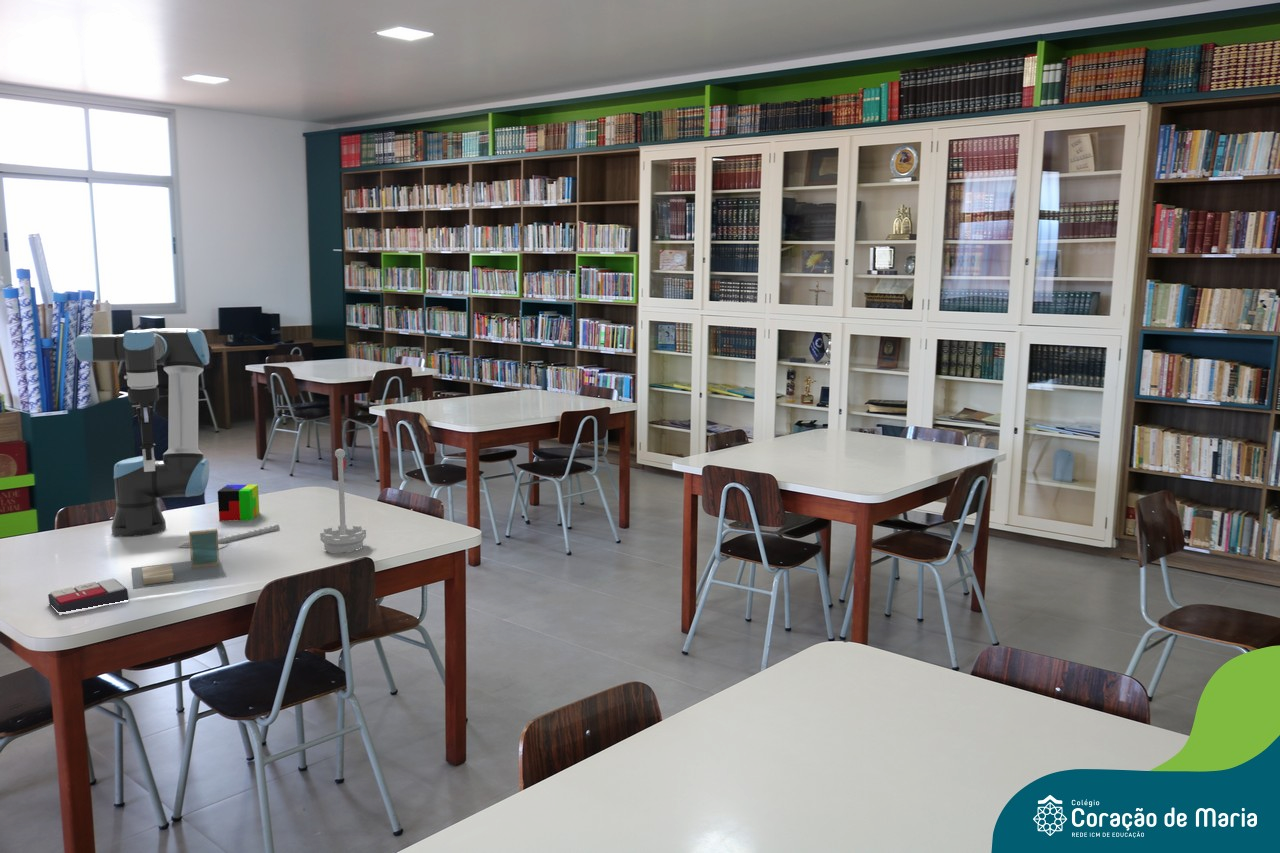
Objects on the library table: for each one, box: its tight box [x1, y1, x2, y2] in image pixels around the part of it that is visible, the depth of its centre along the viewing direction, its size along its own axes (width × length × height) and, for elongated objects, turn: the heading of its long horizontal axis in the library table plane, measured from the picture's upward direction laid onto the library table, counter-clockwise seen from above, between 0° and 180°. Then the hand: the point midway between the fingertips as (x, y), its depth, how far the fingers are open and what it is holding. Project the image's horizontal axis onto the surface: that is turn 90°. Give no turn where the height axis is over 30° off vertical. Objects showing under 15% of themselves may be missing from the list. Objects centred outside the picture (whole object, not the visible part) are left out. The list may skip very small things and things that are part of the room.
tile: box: [142, 563, 174, 585], centre depth 251 cm, size 2×7×10 cm
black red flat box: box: [47, 578, 129, 612], centre depth 233 cm, size 11×4×15 cm
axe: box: [179, 523, 281, 550], centre depth 290 cm, size 30×14×2 cm, turn 147°
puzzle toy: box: [217, 483, 260, 522], centre depth 317 cm, size 10×10×10 cm
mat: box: [130, 559, 227, 590], centre depth 256 cm, size 20×22×1 cm
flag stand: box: [319, 448, 367, 554], centre depth 281 cm, size 13×13×30 cm
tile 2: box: [188, 528, 220, 568], centre depth 261 cm, size 2×7×10 cm, turn 119°
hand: (149, 470), depth 264 cm, fingers closed
